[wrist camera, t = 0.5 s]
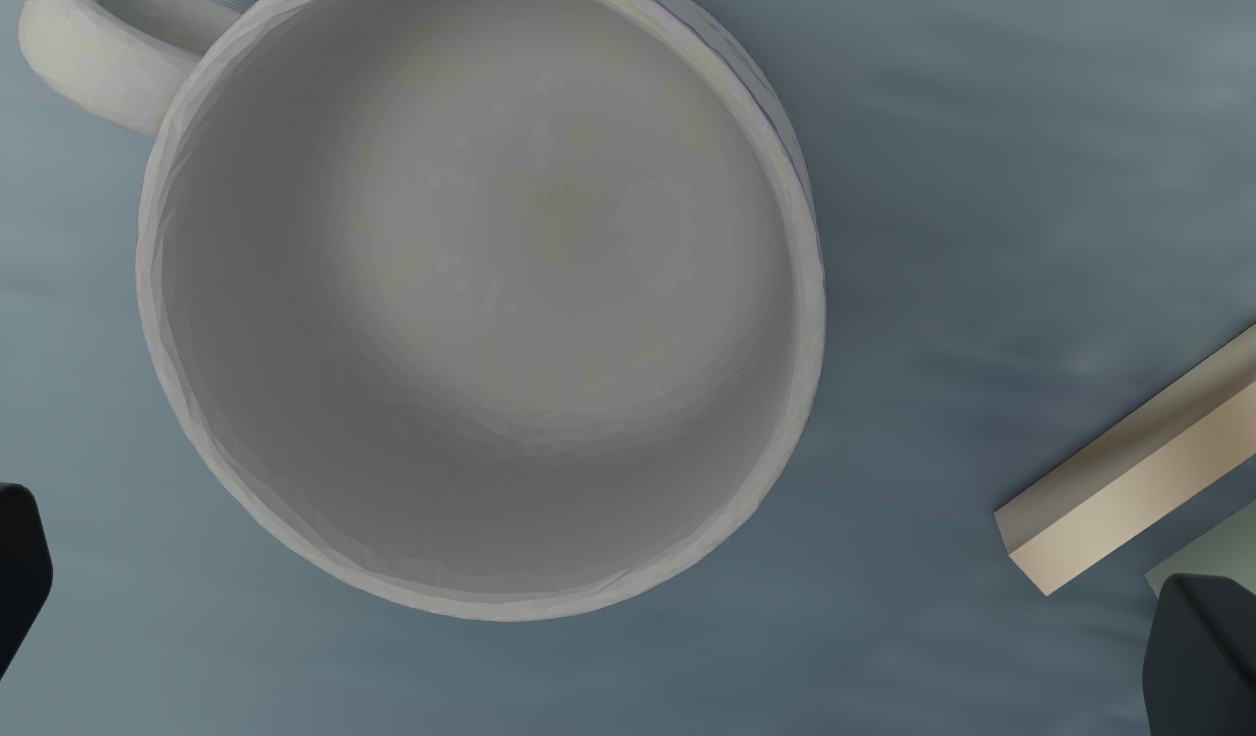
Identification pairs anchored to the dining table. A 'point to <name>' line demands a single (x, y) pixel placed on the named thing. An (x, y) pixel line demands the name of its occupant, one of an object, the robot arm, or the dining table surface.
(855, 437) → the dining table surface
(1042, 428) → the dining table surface
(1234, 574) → the sage block
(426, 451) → the teacup
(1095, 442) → the guide chute
